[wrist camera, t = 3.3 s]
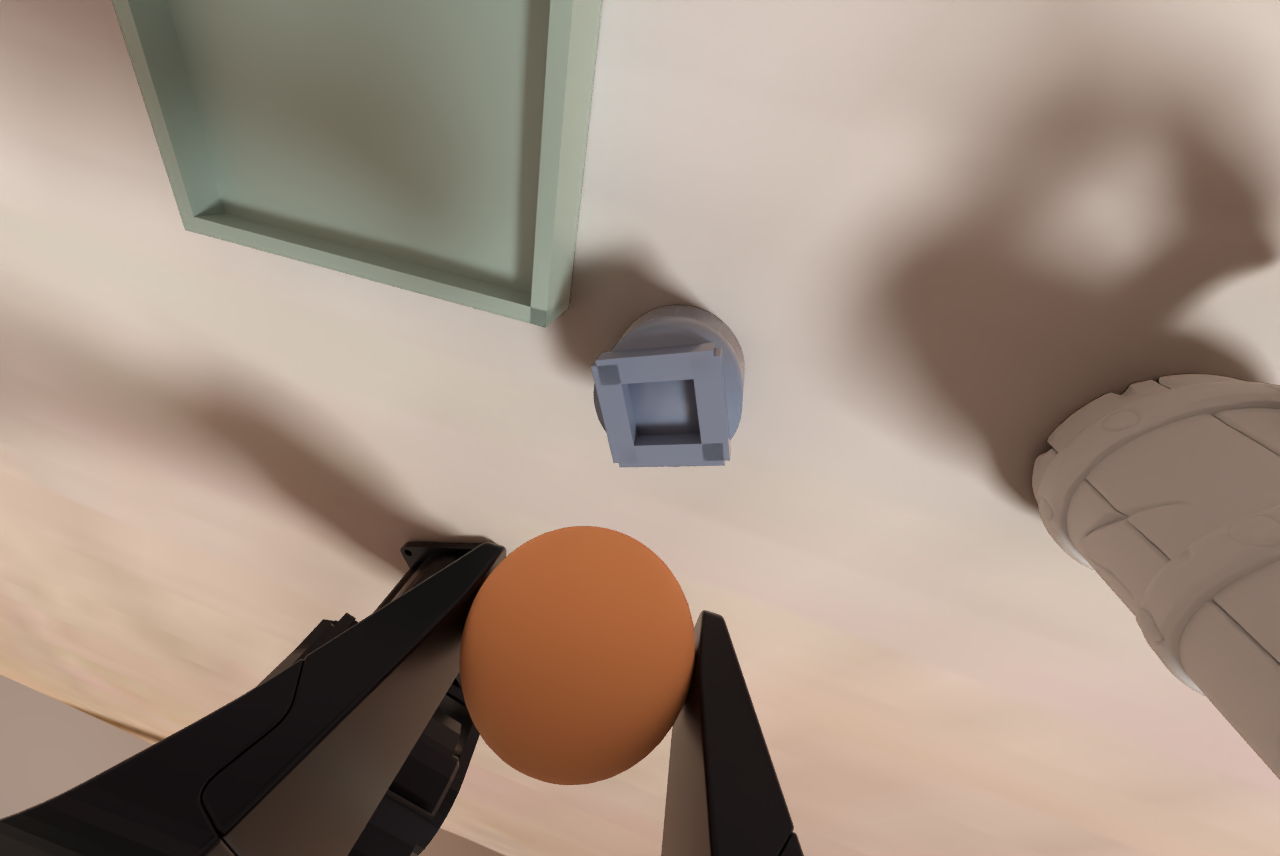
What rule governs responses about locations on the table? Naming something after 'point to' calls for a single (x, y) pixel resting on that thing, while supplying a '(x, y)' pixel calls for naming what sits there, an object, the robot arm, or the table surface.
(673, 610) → the ball
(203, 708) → the table surface
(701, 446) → the cylinder with square socket
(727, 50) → the table surface
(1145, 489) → the mug
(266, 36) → the tray
